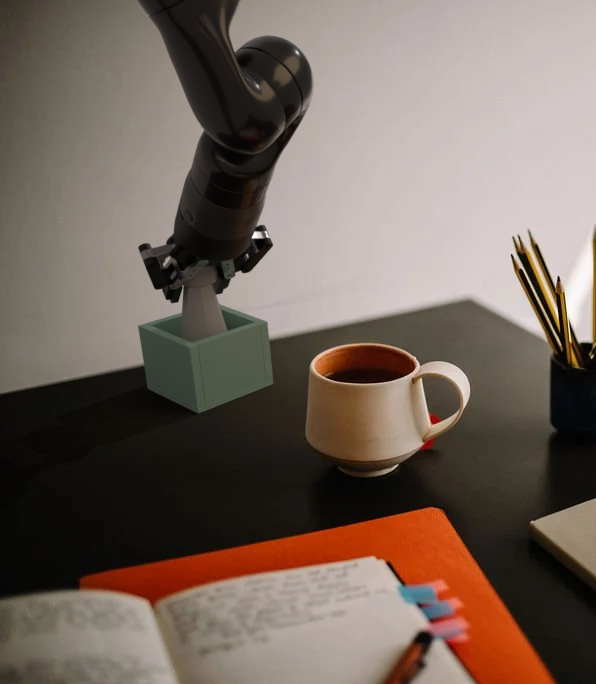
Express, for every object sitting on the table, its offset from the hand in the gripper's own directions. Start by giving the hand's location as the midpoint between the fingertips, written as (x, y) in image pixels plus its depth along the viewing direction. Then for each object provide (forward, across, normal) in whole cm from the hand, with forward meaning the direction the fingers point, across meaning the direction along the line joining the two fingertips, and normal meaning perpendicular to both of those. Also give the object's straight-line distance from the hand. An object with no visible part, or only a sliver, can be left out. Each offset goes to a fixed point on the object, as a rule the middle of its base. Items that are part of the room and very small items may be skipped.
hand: (193, 291), depth 101 cm
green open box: (+7, 0, +9) cm, 11 cm away
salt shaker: (+5, 0, +8) cm, 9 cm away
